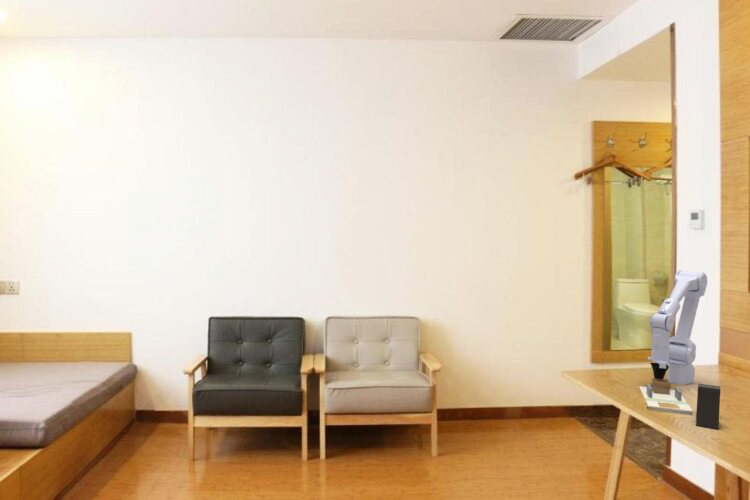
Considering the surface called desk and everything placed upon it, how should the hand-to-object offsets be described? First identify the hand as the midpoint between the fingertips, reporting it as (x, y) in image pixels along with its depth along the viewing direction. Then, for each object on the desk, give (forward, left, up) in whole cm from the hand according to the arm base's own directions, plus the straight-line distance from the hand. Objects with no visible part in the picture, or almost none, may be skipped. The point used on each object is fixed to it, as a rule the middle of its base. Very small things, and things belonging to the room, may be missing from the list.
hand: (658, 383), depth 211 cm
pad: (+12, +12, -3) cm, 17 cm away
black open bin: (+15, +28, -4) cm, 33 cm away
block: (+4, +4, -2) cm, 5 cm away
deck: (+9, +9, -3) cm, 13 cm away
